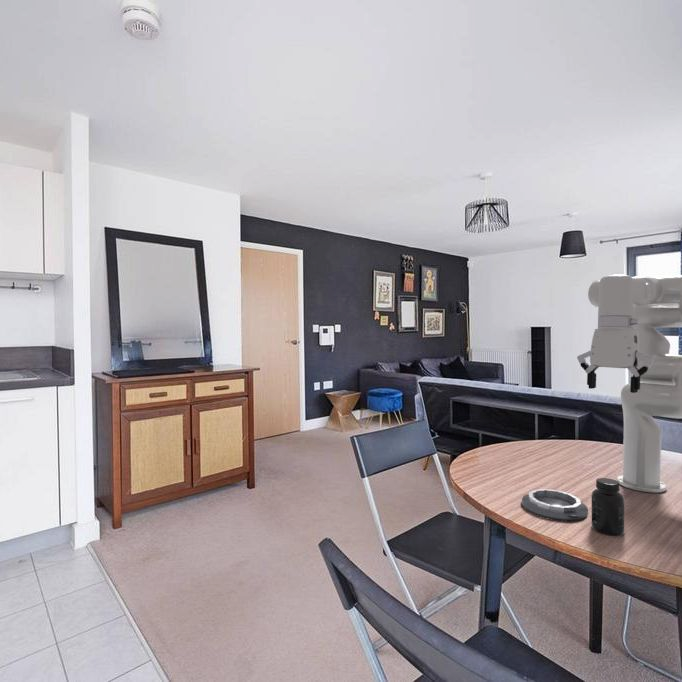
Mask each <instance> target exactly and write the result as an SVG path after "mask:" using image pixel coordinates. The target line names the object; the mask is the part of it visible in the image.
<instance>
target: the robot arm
mask: <svg viewBox="0 0 682 682" xmlns="http://www.w3.org/2000/svg"><path fill="white" fill-rule="evenodd" d="M587 292H588V293H587V297H588V301H589V302H590V304H591V305H592V306H593V307H595V308H598V309H597V310H598V311H597V328H594V331H593V335H592V340H591V347H590V350H588V351H586V352H584V353H582V354H579V355H578V356H577V357H576V359H577V360H578V362H579V365H580V367H581V368H582V369H583V370H584V372H585V373H587V376H586V385H587V386H588V389H596V388H597V373H596V372H595V371H597V369H599V368H613V369H627V370H628V371H629V372H630V373H631V374H632V376H631V377H630V383H628V384H625V385H624V386H623V387H622V389H621V392H620V400H621V407H622V415H623V440H622V441H623V442H622V443H623V445H622V446H623V447H622V449H623V450H622V451H623V453H622V454H623V455H622V474H621V475H618V476H616V481H618V482H619V486H620V485H621V486H622V487H624V488H628V489H630V490H634V491H638V492H645V493H653V494H654V493H663V492H666V491H667V484H666V483H664V482H663V481H661V464H662V463H661V462H662V461H661V460H662V459H661V458H662V429H661V427H660V426H659V424H658V422H657V421H656V420H655V419H654V417H662V418H668V419H669V418H670V419H682V354H670V349H671V343H670V341H669V339H668V338H667V337H666V336H665V335H664V334H663V333H661V332H660V331H659V330H657V329H656V328H682V274H672V275H657V276H653V275H652V276H630V275H627V274H613V275H606V276H602V277H601V278H600V279H598V280H594V281H592V282H591V284H590V285H589V288H588V290H587ZM587 358H589V362H590V365H589V363H587V361H586V359H587Z"/></svg>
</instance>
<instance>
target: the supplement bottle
mask: <svg viewBox="0 0 682 682" xmlns="http://www.w3.org/2000/svg"><path fill="white" fill-rule="evenodd" d="M595 482H596V483H595V487H596V489H594V490H593V491H592V492H591V527H592V529H593V530H594V531H596V532H597V533H600V534H602V535H606V536H611V537H612V536H613V537H618V536H622V535H623V534H624V533H625V497H624V495H623V494H622V493H621V492H620V491H621V487H620V484H619V482H618V481H617V479H612V478H608V477H599V478H596V479H595Z"/></svg>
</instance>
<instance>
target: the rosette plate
mask: <svg viewBox="0 0 682 682" xmlns="http://www.w3.org/2000/svg"><path fill="white" fill-rule="evenodd" d="M521 505H522V507H523V508H524V510H526V511H527V512H529V513H530V514H532V513H533V515H535V516H537V515H538V516H537V517H540V516H541V517H540V518H543V517H544V519H547V518H548V520H551V519H552V520H551V521H558V522H578V521H581V520H582V521H583V520H584V519H586V518H587V517H588V515H589V508H588V506H587V505H586V504H585V503H583V502H582V501H581V499H580V498H579V497H577V496H575V495H573V494H571V493H569V492H565V491H562V490H556V489H550V488H549V489H547V488H541V489H540V488H539V489H533V490H531V491H528V494H527V493H526V494H525V495H523V496H522V498H521Z"/></svg>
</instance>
